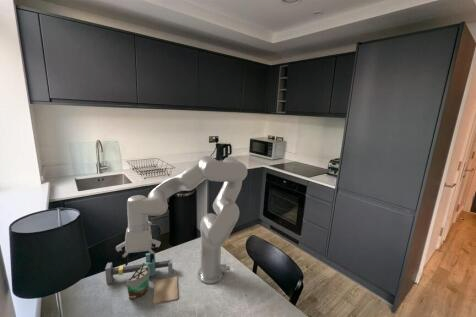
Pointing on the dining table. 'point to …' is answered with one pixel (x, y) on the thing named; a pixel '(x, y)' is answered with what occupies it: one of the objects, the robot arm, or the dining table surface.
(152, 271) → the sleeve
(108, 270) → the rail
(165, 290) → the mat
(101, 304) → the dining table surface
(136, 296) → the food container
